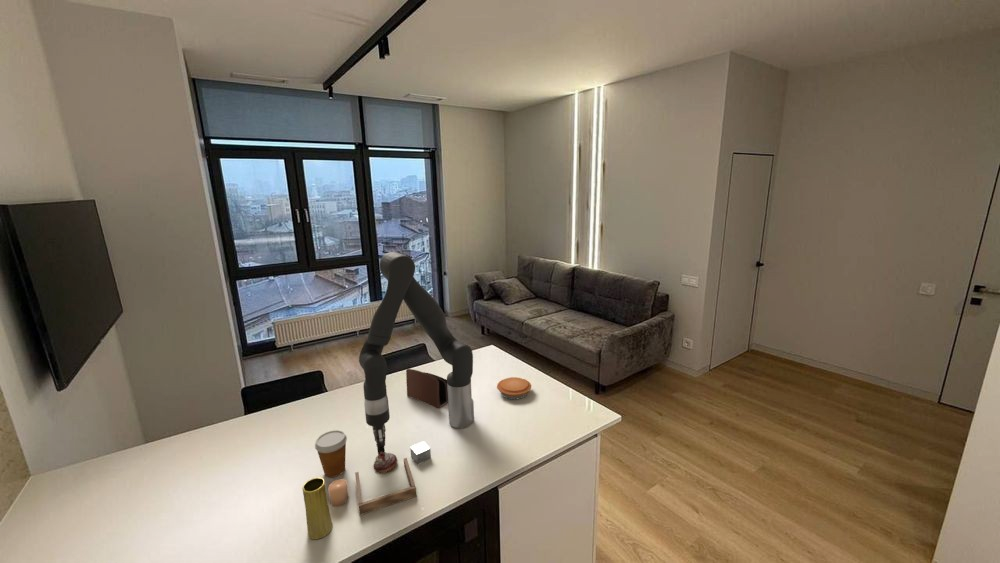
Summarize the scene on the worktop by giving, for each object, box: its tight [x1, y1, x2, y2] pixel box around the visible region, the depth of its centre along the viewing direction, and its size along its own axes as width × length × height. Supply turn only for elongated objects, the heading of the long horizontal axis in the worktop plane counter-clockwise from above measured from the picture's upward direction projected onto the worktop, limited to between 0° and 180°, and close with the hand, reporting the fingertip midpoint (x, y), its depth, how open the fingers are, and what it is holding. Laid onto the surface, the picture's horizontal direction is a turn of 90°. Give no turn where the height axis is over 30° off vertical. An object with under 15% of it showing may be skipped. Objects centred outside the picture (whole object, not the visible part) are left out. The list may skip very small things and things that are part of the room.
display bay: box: [354, 457, 417, 516], centre depth 115 cm, size 16×14×3 cm
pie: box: [496, 376, 532, 400], centre depth 169 cm, size 16×16×5 cm
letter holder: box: [405, 368, 448, 410], centre depth 166 cm, size 10×20×14 cm, turn 55°
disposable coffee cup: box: [314, 429, 348, 478], centre depth 122 cm, size 10×10×12 cm
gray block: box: [409, 441, 432, 465], centre depth 128 cm, size 5×5×4 cm
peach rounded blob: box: [328, 478, 349, 508], centre depth 111 cm, size 5×5×5 cm
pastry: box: [373, 451, 398, 474], centre depth 125 cm, size 8×8×5 cm
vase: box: [301, 477, 334, 540], centre depth 100 cm, size 6×6×14 cm
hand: (381, 453), depth 129 cm, fingers closed
